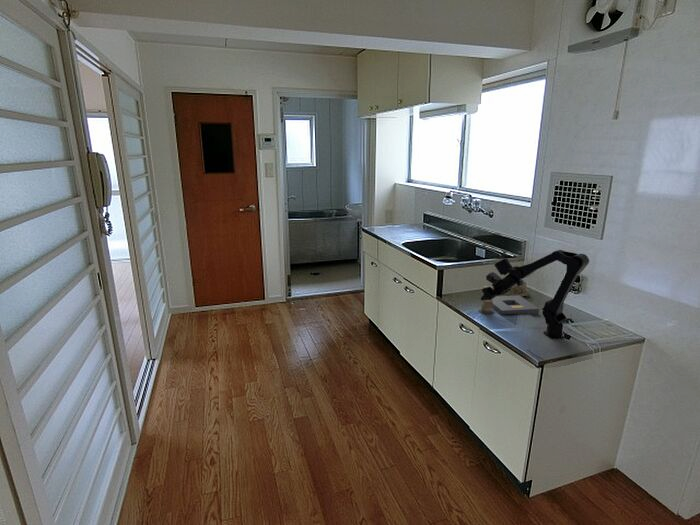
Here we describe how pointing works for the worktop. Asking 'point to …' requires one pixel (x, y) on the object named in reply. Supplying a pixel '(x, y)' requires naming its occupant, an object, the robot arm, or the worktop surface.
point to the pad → (486, 313)
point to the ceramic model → (518, 290)
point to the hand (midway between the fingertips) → (485, 297)
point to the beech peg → (487, 304)
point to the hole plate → (519, 307)
